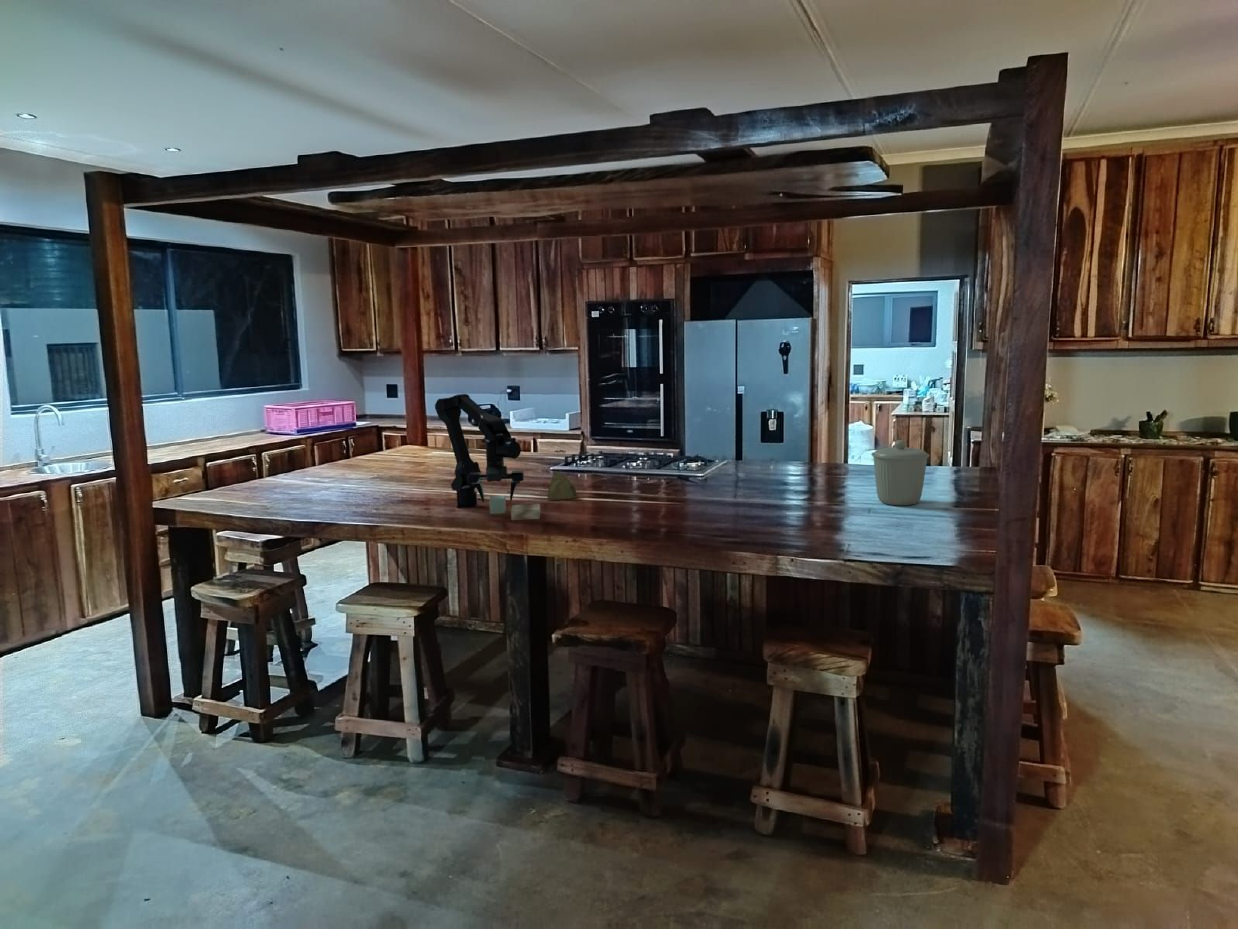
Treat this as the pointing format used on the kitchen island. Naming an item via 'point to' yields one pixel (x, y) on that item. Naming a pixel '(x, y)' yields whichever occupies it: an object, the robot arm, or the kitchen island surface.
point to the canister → (899, 474)
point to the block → (497, 504)
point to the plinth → (525, 512)
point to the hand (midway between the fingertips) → (497, 501)
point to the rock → (561, 488)
